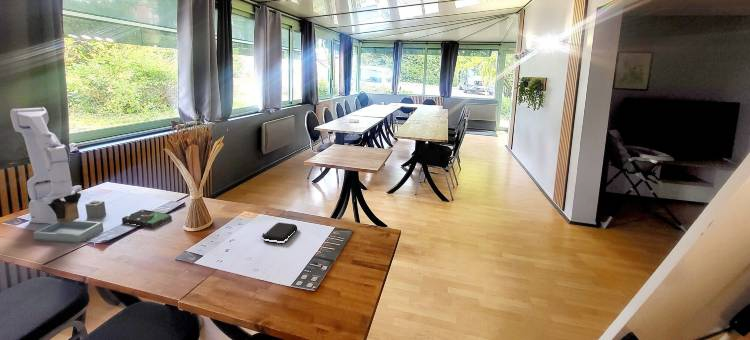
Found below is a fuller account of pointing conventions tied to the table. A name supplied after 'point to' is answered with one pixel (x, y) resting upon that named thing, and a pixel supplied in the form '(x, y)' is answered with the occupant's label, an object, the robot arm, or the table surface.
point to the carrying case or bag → (280, 231)
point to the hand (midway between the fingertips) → (67, 215)
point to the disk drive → (147, 218)
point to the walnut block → (70, 212)
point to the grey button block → (95, 209)
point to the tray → (68, 231)
